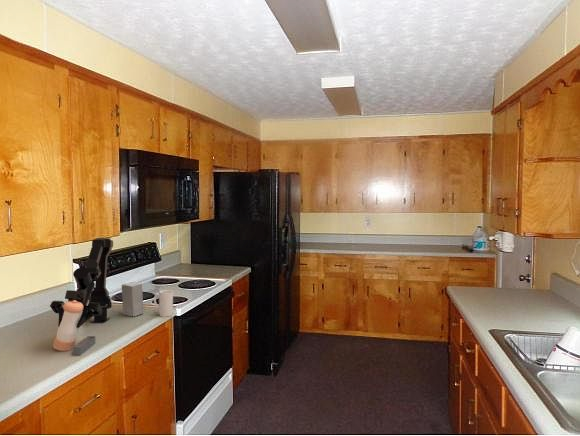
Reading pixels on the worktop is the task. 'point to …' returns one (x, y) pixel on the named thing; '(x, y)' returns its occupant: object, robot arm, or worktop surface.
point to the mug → (164, 303)
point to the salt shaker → (68, 326)
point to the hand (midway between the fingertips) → (68, 327)
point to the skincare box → (132, 299)
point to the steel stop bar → (83, 345)
